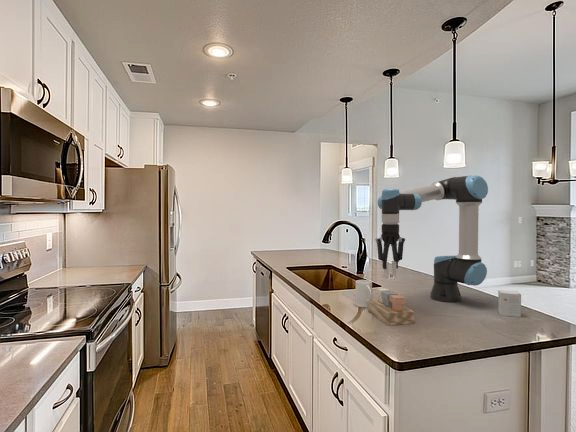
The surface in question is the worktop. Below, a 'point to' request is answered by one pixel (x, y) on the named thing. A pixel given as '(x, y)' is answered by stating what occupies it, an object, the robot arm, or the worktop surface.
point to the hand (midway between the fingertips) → (390, 275)
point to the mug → (363, 293)
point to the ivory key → (380, 293)
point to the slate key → (386, 296)
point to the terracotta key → (397, 302)
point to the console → (390, 314)
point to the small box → (509, 303)
